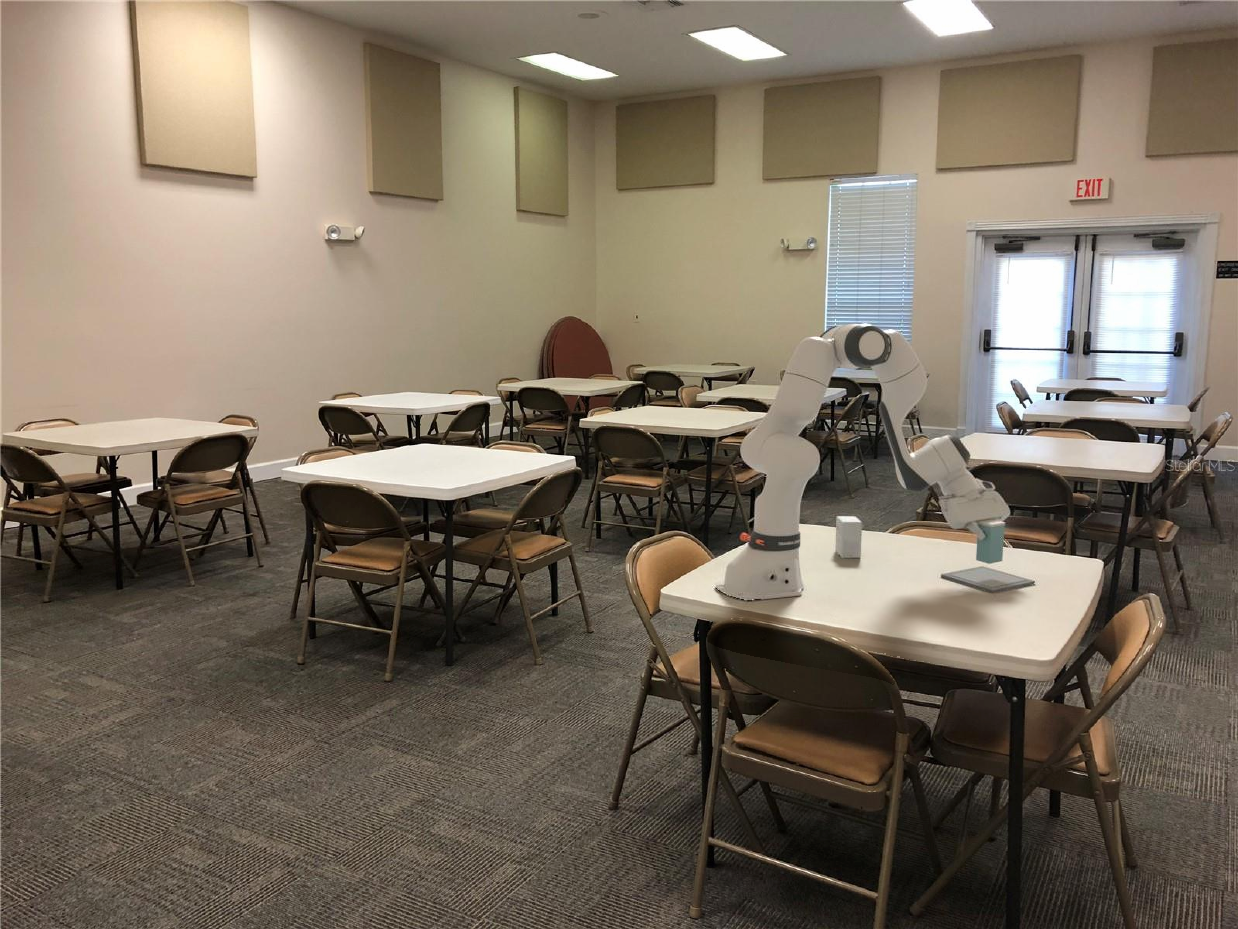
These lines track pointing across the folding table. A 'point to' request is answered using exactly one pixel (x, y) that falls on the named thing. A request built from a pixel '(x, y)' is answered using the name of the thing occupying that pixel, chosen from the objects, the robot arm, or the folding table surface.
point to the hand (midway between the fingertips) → (992, 537)
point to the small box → (848, 536)
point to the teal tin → (991, 541)
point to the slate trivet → (987, 579)
